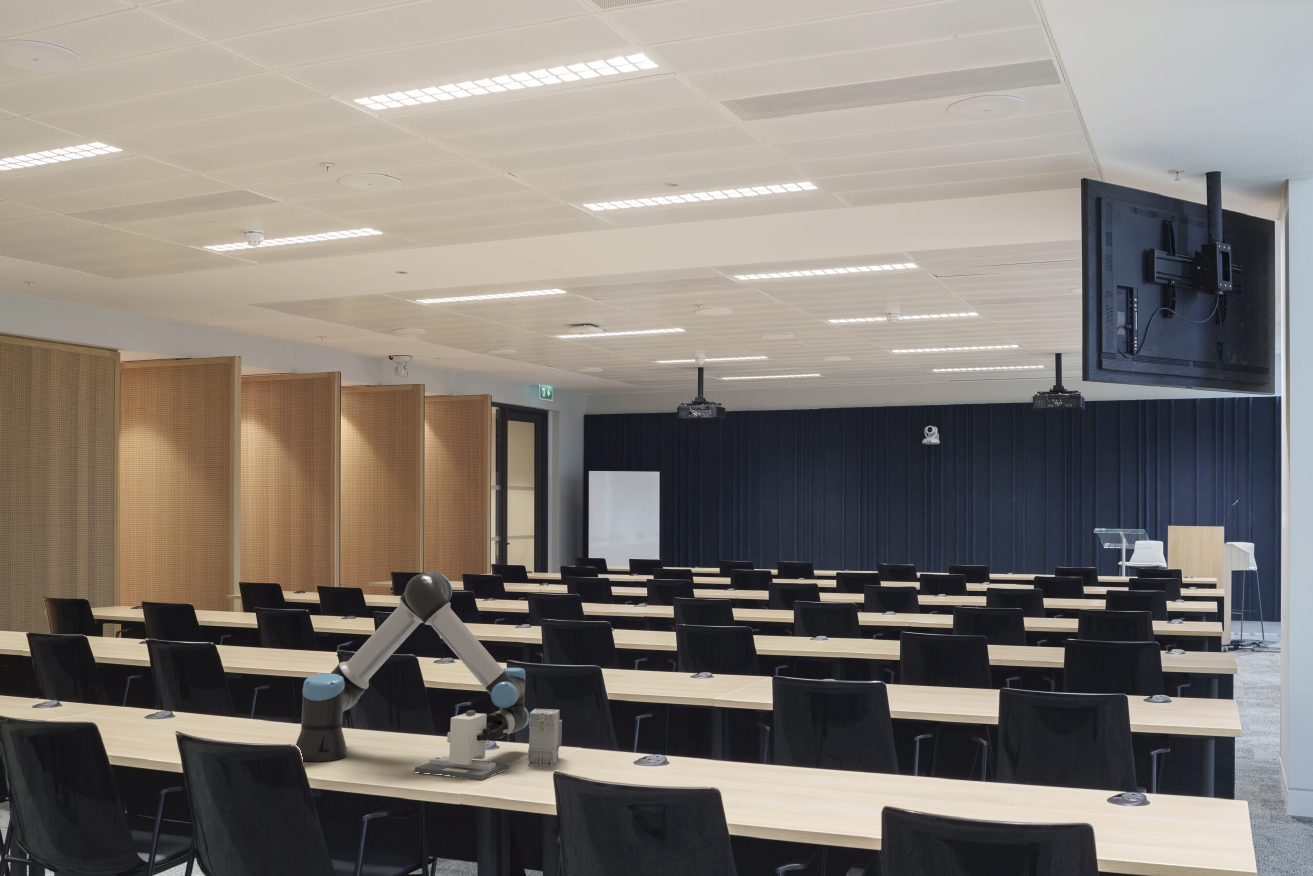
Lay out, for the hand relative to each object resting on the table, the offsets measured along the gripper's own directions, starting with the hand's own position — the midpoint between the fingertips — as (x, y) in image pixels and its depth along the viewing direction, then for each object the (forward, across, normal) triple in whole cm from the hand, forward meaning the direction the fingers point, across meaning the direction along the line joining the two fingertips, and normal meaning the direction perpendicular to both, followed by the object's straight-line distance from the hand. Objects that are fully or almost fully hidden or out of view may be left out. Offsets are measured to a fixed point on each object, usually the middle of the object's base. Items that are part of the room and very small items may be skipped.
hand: (459, 738), depth 306 cm
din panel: (-5, +2, -10) cm, 11 cm away
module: (-5, 0, -7) cm, 9 cm away
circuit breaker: (-28, -14, -10) cm, 33 cm away
